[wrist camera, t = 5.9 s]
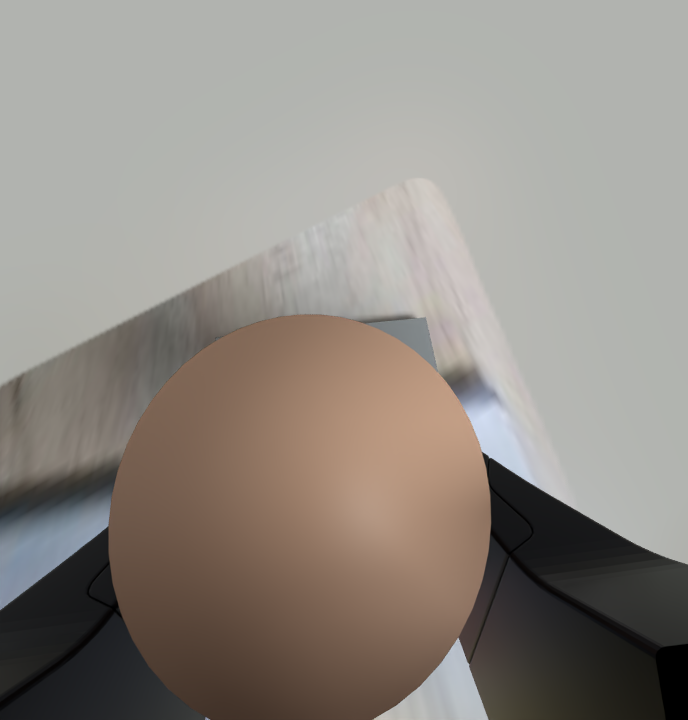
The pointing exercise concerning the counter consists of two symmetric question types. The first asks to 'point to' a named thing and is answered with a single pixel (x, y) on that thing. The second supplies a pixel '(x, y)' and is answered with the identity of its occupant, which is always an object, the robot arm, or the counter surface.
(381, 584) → the dowel
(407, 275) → the counter surface
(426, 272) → the counter surface
